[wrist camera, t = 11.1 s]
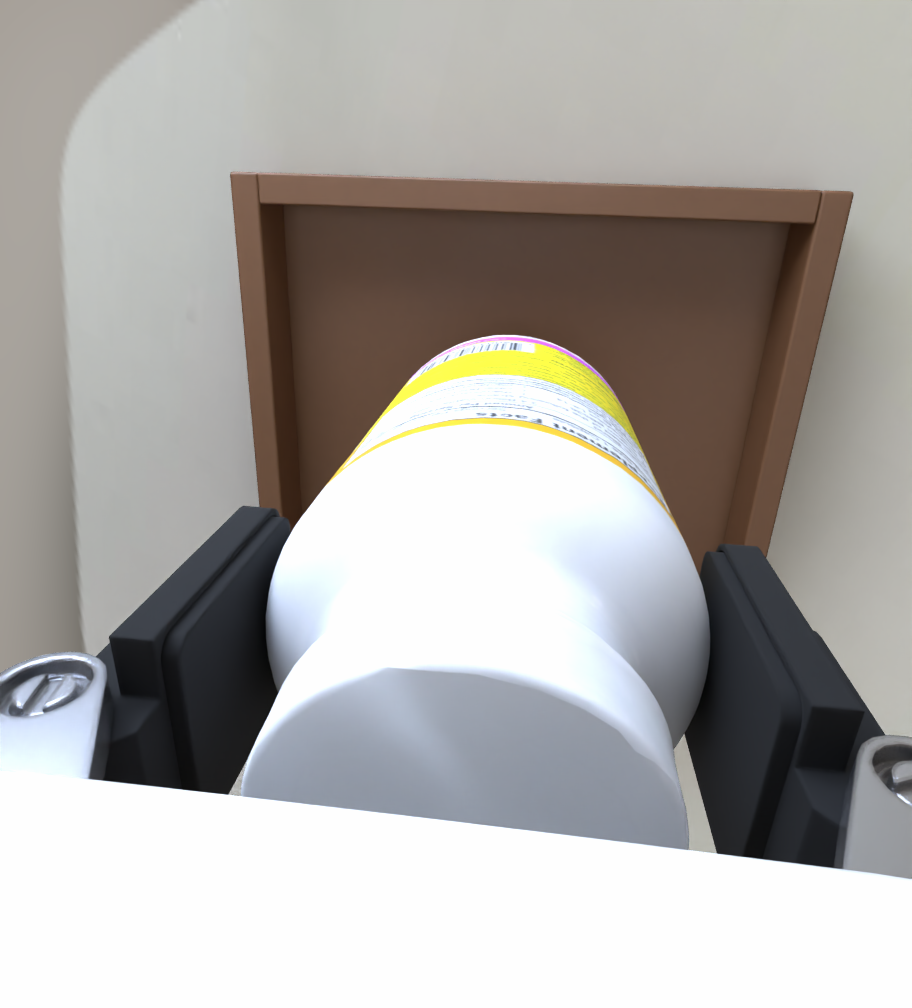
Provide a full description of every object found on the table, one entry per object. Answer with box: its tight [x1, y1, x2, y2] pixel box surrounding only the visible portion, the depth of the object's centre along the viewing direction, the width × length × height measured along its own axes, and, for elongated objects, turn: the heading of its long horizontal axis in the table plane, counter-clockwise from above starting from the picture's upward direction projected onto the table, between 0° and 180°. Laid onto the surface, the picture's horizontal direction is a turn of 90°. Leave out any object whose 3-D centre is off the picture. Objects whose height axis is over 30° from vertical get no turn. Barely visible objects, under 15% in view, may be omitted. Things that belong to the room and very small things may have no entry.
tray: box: [230, 172, 853, 577], centre depth 22 cm, size 17×14×3 cm
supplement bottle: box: [241, 335, 710, 850], centre depth 13 cm, size 7×7×13 cm
